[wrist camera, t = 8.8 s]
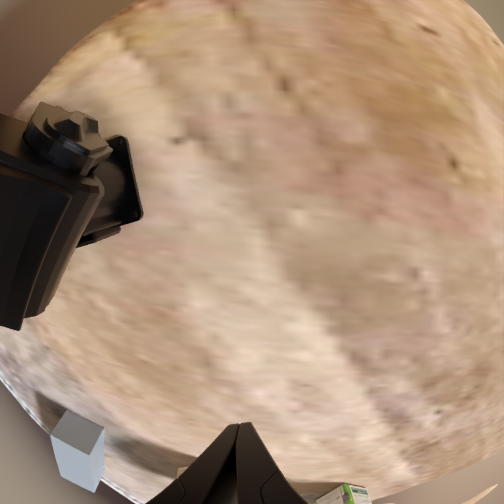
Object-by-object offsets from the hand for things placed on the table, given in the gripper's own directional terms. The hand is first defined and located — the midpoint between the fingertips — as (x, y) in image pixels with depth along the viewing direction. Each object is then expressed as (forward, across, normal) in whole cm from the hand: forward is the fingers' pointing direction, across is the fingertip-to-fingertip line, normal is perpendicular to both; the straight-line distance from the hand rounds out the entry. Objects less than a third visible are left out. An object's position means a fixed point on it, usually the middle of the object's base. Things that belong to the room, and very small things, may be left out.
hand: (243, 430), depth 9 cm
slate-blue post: (+11, -22, -11) cm, 27 cm away
